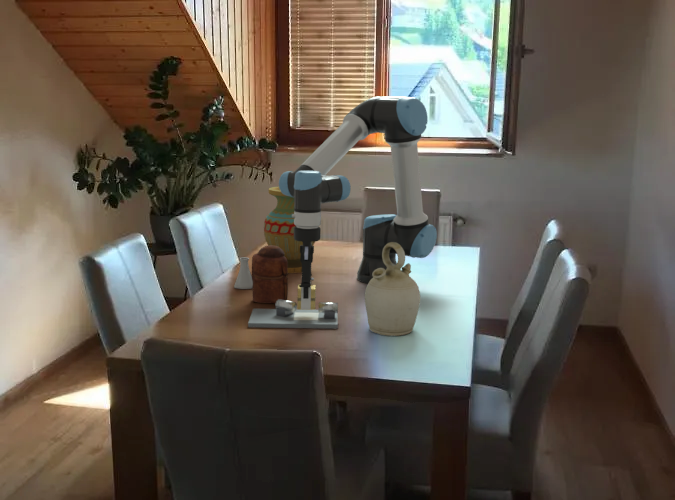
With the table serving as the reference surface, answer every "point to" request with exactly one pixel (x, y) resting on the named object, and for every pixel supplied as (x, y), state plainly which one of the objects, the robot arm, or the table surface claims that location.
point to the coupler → (313, 297)
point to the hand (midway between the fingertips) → (306, 305)
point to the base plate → (291, 319)
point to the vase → (283, 230)
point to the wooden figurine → (269, 275)
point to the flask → (244, 275)
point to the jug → (392, 296)
